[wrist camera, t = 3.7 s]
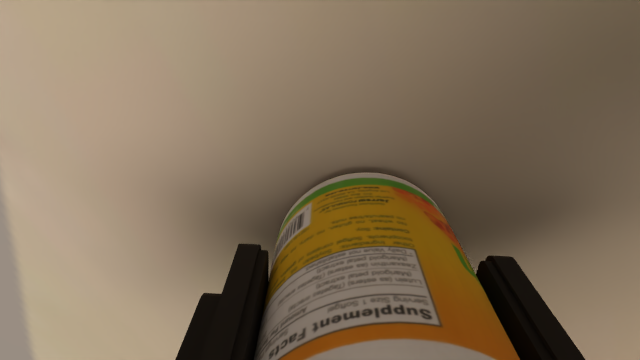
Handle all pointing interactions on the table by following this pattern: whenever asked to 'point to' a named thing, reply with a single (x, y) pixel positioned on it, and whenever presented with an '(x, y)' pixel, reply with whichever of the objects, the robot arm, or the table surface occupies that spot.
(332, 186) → the supplement bottle
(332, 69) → the table surface
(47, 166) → the table surface
